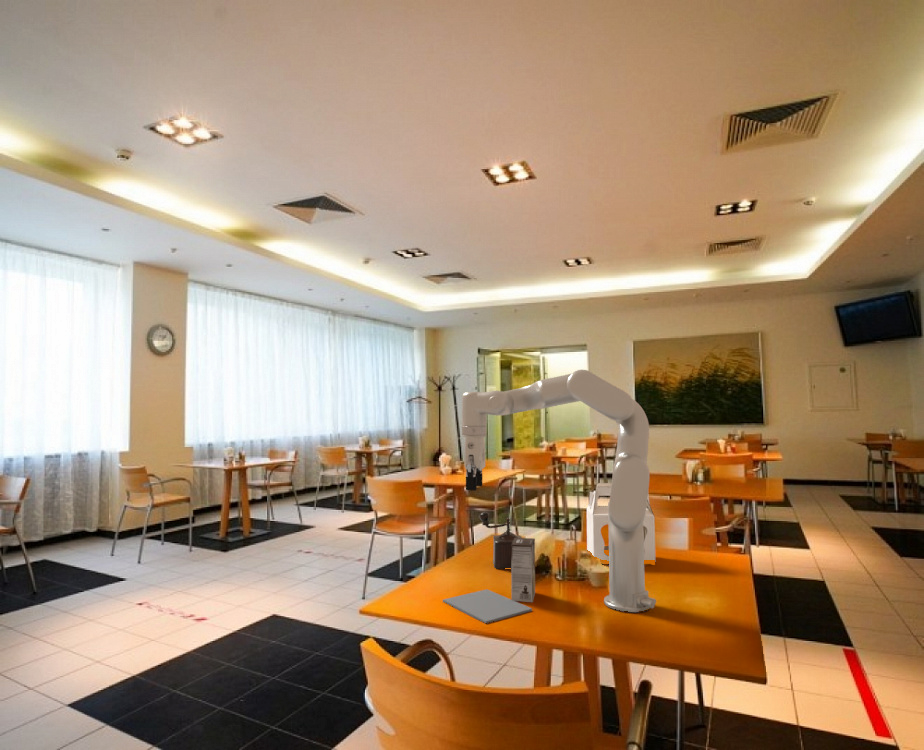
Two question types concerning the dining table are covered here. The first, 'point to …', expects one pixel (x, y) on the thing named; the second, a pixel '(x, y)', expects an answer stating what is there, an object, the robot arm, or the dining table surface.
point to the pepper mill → (500, 543)
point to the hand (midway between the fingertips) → (474, 488)
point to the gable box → (599, 518)
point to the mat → (487, 606)
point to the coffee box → (523, 569)
